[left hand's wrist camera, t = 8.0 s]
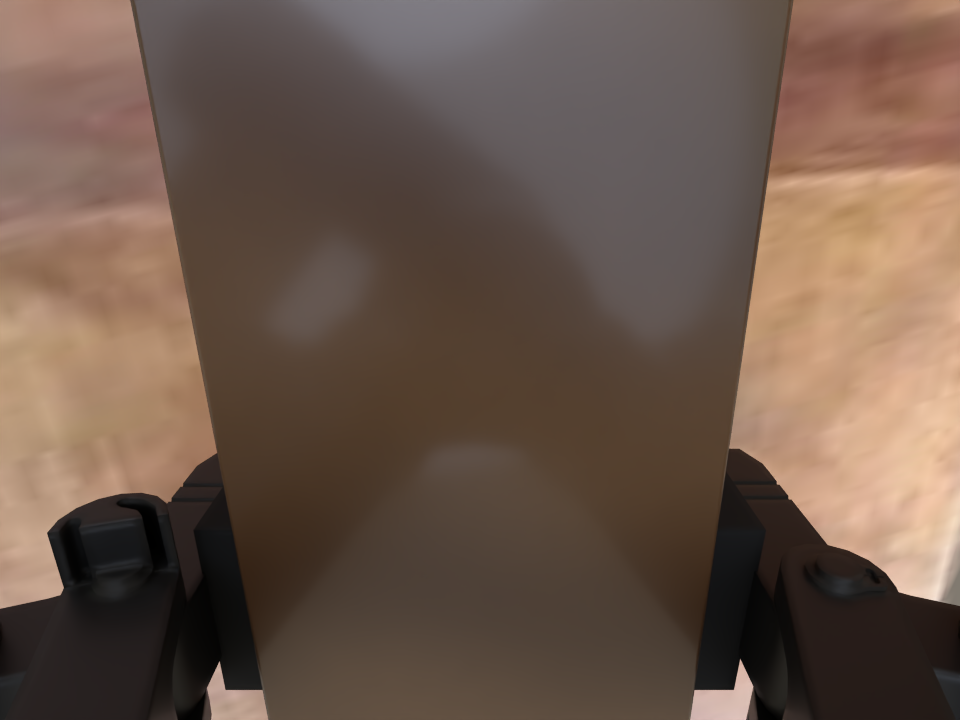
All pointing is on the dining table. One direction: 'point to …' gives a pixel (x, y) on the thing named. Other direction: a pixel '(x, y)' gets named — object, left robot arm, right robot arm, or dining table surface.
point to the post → (469, 333)
